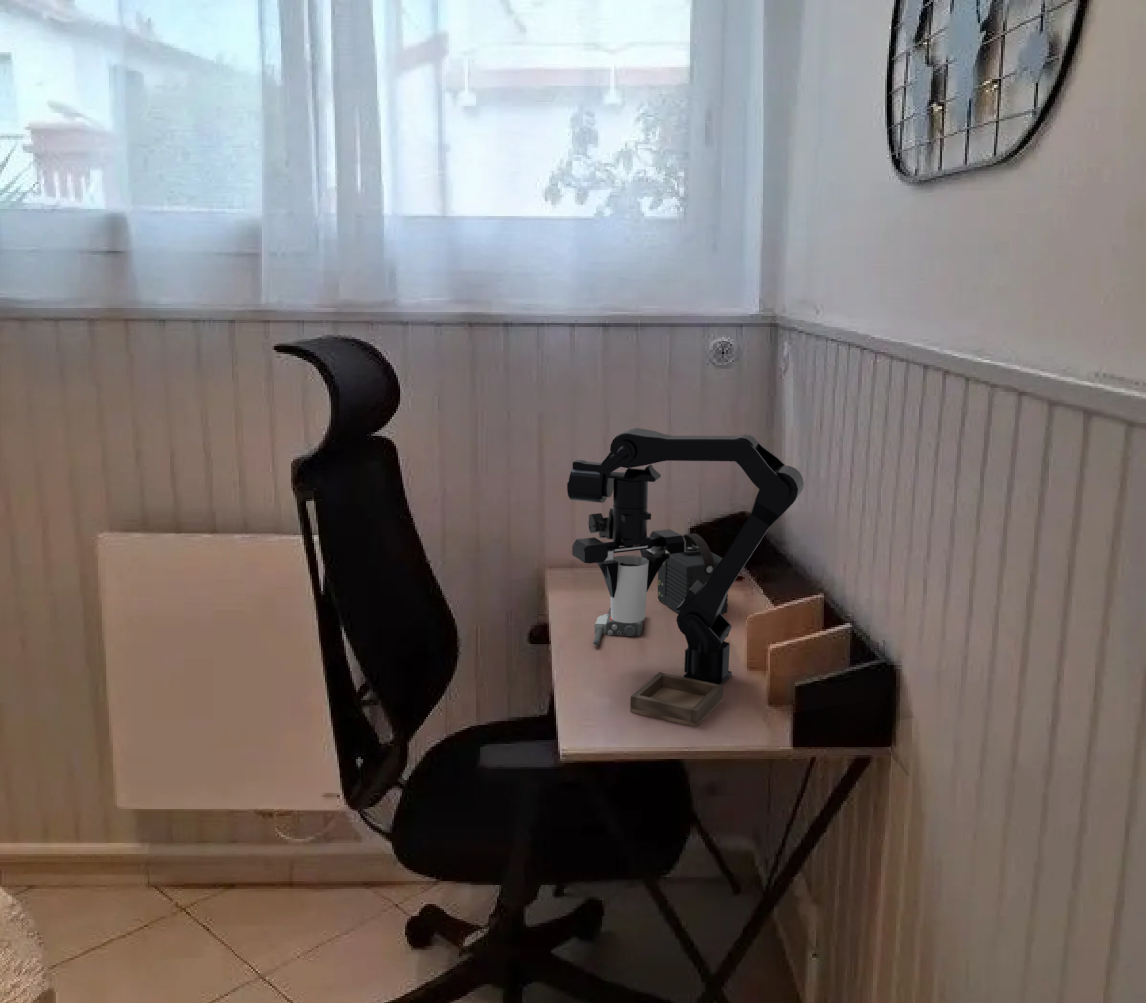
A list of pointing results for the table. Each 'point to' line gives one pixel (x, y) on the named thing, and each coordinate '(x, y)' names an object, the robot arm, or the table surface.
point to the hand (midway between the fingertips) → (628, 594)
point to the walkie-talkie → (615, 627)
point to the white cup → (630, 589)
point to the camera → (686, 572)
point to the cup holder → (677, 699)
